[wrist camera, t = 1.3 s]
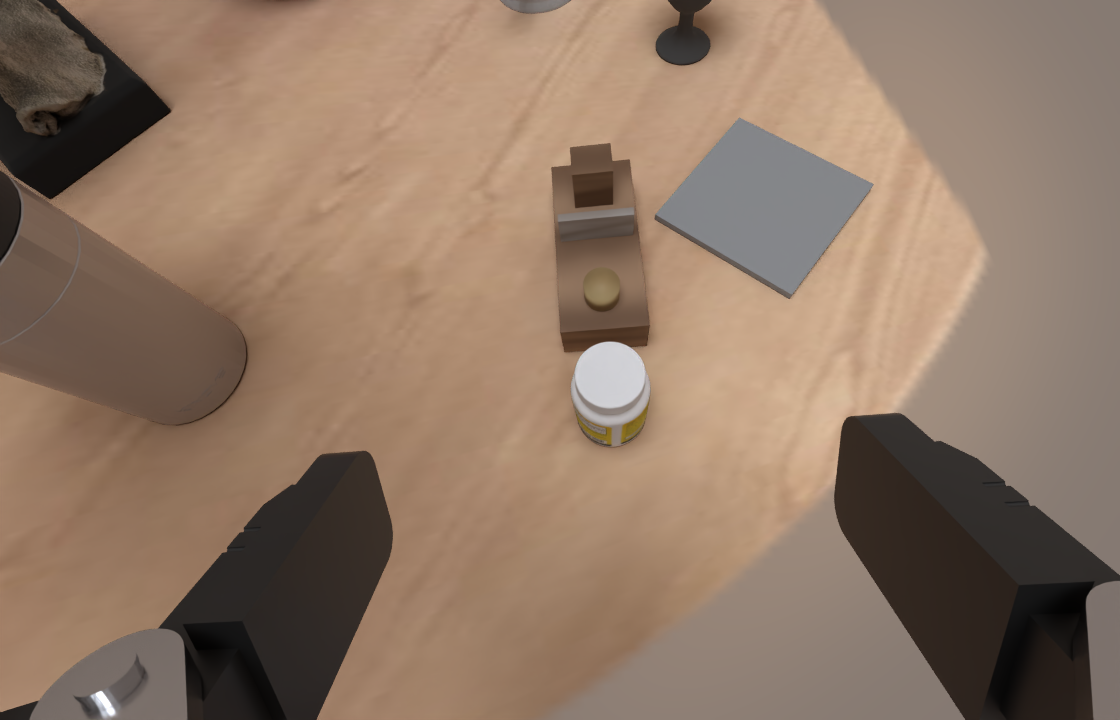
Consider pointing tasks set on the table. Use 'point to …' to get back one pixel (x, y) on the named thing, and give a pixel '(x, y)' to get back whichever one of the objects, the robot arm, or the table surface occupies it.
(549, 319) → the table surface
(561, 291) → the plane body
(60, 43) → the coral
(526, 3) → the glass holder
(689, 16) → the sundae
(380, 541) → the robot arm
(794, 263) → the felt mat
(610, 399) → the supplement bottle
